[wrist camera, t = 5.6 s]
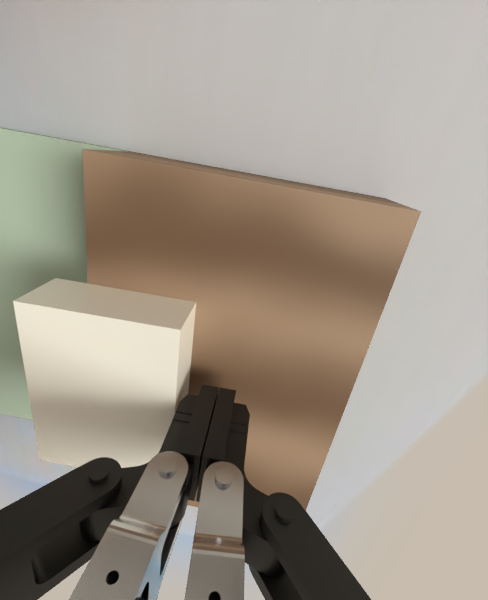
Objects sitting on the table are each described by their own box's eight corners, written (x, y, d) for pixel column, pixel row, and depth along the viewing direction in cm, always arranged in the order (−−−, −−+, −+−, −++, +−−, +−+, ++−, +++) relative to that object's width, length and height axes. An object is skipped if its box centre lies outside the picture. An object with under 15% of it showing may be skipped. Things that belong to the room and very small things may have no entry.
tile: (55, 278, 13) (12, 300, 11) (196, 301, 13) (180, 330, 11) (70, 420, 17) (39, 460, 15) (183, 441, 17) (169, 484, 14)
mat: (-97, 109, 15) (-109, 108, 15) (130, 151, 15) (125, 151, 14) (-28, 401, 23) (-34, 406, 22) (125, 432, 22) (122, 438, 22)
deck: (130, 151, 15) (82, 149, 11) (385, 198, 15) (421, 211, 11) (125, 432, 22) (95, 486, 19) (295, 466, 22) (298, 527, 18)
